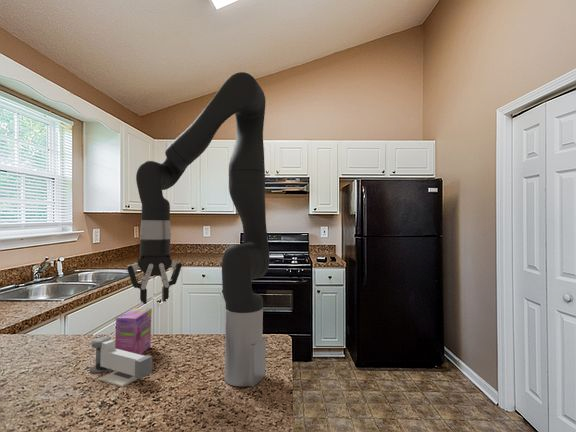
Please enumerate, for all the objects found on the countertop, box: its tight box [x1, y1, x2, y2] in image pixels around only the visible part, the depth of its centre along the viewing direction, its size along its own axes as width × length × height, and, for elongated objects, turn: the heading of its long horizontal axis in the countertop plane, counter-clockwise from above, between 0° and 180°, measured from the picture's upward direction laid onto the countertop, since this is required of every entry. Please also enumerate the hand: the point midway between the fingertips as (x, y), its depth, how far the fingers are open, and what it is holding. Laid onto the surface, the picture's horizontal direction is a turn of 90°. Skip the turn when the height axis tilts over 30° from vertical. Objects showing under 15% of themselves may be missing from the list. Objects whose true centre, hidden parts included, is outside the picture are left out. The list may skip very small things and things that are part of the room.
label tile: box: [98, 370, 138, 388], centre depth 81 cm, size 8×8×1 cm
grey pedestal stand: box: [89, 348, 111, 374], centre depth 85 cm, size 5×5×6 cm
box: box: [114, 307, 152, 355], centre depth 95 cm, size 10×6×12 cm, turn 179°
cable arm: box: [91, 336, 153, 380], centre depth 82 cm, size 18×4×6 cm, turn 65°
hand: (154, 301), depth 86 cm, fingers open, 4 cm apart
